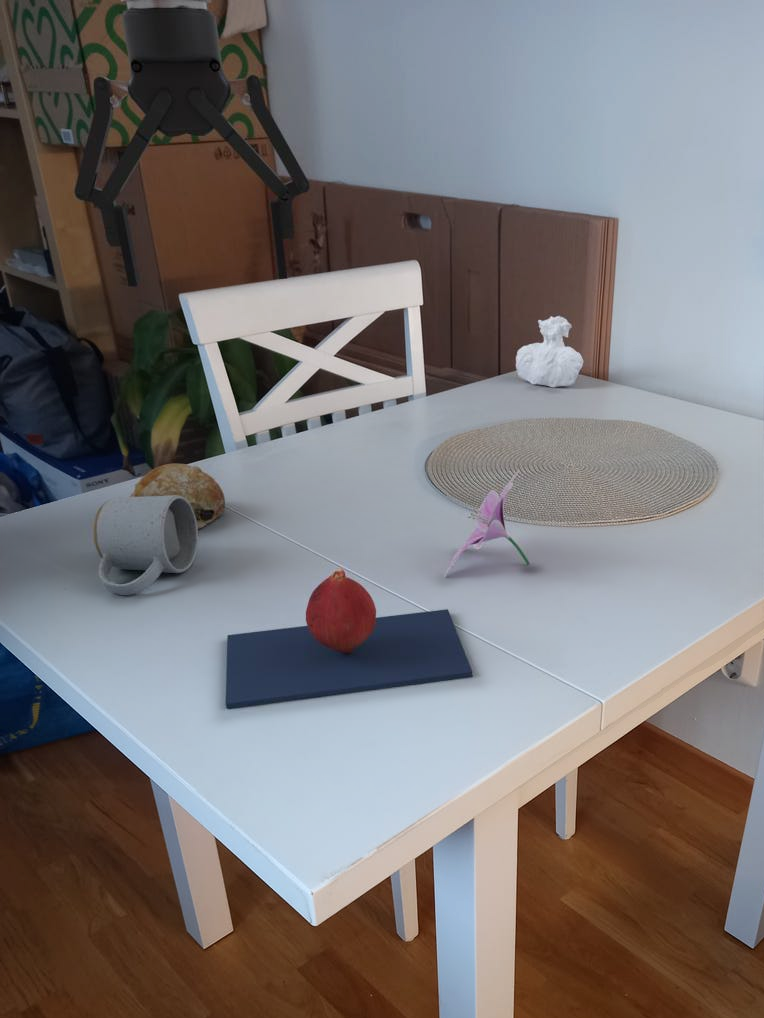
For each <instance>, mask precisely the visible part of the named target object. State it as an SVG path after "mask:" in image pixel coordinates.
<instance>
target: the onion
mask: <svg viewBox="0 0 764 1018" xmlns="http://www.w3.org/2000/svg"><path fill="white" fill-rule="evenodd" d="M310 594H311V595H310V596H309V599H308V602H307V606H306V610H305V622H306V626H308V629H309V631H310V632H311V634H312V636H313V637H314V638H315V639H316V640H317V641H318V642H319V643H320V644H322V645H324V646H325V647H328V648H330V649H333V650H335V651H338V652H340V653H343V654H348V653H351V652H352V651H353V650H354V649H355V648H356V647H358V646H359V645H361V644H362V643H363V642H364V641H365V640H366V639H367V638H368V637H369V636H370V635H371V634H372V632H373V629H374V627H375V622H376V618H377V608H376V605H375V602H374V600H373V598H372V595H370V593H369V592H368V591H367V589H366V588H365V587H364V586H363V585H362V584H361V583H359V582H357V581H355V580H354V579H353V578H350V577H348V576H347V575H346V571H345V569H344V568H336V569H335V570H334V571H333V572H332V574H331V575H329V576H328V577H327V578H325V579H324V580H323V581H321V582H320V583H319V584H318V585H317V586H316V587H315V588H314V590H313V591H312V593H310Z"/></svg>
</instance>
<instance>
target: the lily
mask: <svg viewBox="0 0 764 1018" xmlns="http://www.w3.org/2000/svg"><path fill="white" fill-rule="evenodd" d="M520 471H521V469H519V470H518V471H517V472H516V473H515V474H514V475H513V476H512V478H511V479H510V480H509V482H507V484H506V485H505V486H504V488H503V490H502V491H501V493H500V495H499V494H498V493H497V491H495V489H491V490H490V491H489V493H488V494H487V495H486V497H485V498H484V500H483V501H482V503H481V505H480V507H479V509H478V510H475V511H474V513H476V514H474V513H472V512H471V513H470V515H471V516H467V518H468V519H473V520H475V526H476V527H474V529H473V530H472V532H470V534H469V535H468V537H467V539H466V540H465V541H464V543H463V545H462V546H461V547H460V548H459V549H458V550H457V552H456V553H455V554H454V556H453V558H452V560H451V561H450V563H449V565H448V567H447V569H446V571H445V574H444V577H446V576H447V575H448V573H449V572H450V570H451V569H452V567H453V565H454V564H455V563H456V561H457V560H458V558H459V557H460V556H461V555H462V553H464V551H465V550H466V549H468V547H470V546H472V545H473V548H474V549H475V550H479V549H481V546H482V545H483V543H486V542H489V541H494V540H497V539H499V538H506V539H507V540H508V541H509V542H510V543H511V544H512V545H513V546H514V548H515V549H516V550H517V551H518V553H519V554H520V555H521V557H522V558H523V561H524V562H525V564H526V565H527V566H529V565H530V564H531V563H530V561H529V559H528V558H527V556H526V555H525V554H524V552H523V550H522V549H521V548H520V546H519V545H518V544H517V543H516V542H515V540H514V539H513V538H512V537H511V536H510V535H509V534H508V532H507V530H506V524H505V522H506V521H505V500H506V497H507V494H508V492H509V491H510V490H511V489H512V487H513V486H514V483H513V482H514V481H515V479H516V477H517V475H518V474H519V472H520Z"/></svg>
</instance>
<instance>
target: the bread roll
mask: <svg viewBox="0 0 764 1018" xmlns="http://www.w3.org/2000/svg"><path fill="white" fill-rule="evenodd" d="M134 484H135V485H134V490H133V493H131V494H130V496H129V497H147V496H168V495H179V496H182V497H184V498H185V499H186V500H187V501H188V502H189V503H190V505H191V507H192V509H193V511H194V514H195V517H196V522H197V529H198V530H201V529H202V528H203V527H205V526H207V525H209V524H211V523H213V521H214V522H215V520H216V519H218V518H220V517H222V515H223V514H224V512H225V508H226V500H225V499H226V498H225V494H224V492H223V489H222V488H221V486H220V485H219V483H218V482H217V481H216V480H215V478H214V477H212V476H211V475H209V474H208V473H206V472H204V471H202V468H200V467H199V466H197V465H189V464H186V463H177V462H176V463H174V462H173V463H172V462H171V463H166V464H162V465H159V466H157V467H155V468H153V469H151V470H150V471H148V472H147V473H145V474H144V475H143V476H142V477H141V478H140V480H139V481H137V482H136V483H134Z"/></svg>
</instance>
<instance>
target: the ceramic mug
mask: <svg viewBox="0 0 764 1018" xmlns="http://www.w3.org/2000/svg"><path fill="white" fill-rule="evenodd" d="M92 525H93V526H92V537H93V538H92V539H93V543H94V547H95V550H96V552H97V554H98V556H99V557H100V558H101V560H100V563H99V566H98V576H99V578H100V581H101V583H102V584H103V585H104V586H105V588H106V589H107V590H108V591H109V592H111V593H113V594H115V595H118V596H133V595H136V594H138V593H141V592H144V591H145V590H148V588H150V586H152V585H153V584H154V583H155V582H156V580H157V579H158V578H159V577H160V575H161V574H162V573H167V574H168V573H169V574H181V573H184V572H186V571H188V570H189V568H191V566H192V565H193V563H194V560H195V559H196V556H197V551H198V545H199V529H197V522H196V517H195V514H194V511H193V509H192V507H191V505H190V503H189V502H188V501H187V500H186V499H185V498H184V497H182V496H179V495H168V496H147V497H130V496H123V497H117V498H113V499H109V500H107V501H105V502H104V503H102V504H101V505H100V507H99V509H98V510H97V512H96V514H95V517H94V520H93V524H92ZM112 567H114V568H117V569H122V570H129V571H131V570H132V571H144V572H143V573H142V574H141V575H140V576H139V577H137V578H136V579H133V580H132V581H129V582H127V583H121V584H120V583H118V584H117V583H116V582H114V581H110V580H109V576H110V571H111V570H112Z"/></svg>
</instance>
